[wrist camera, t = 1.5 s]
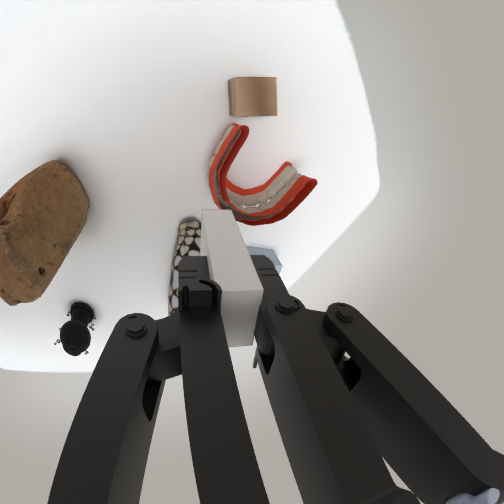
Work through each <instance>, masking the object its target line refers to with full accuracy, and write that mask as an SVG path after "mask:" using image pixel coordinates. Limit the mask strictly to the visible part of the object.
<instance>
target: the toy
mask: <svg viewBox="0 0 504 504" xmlns="http://www.w3.org/2000/svg"><path fill="white" fill-rule="evenodd" d="M248 133H249V128H248V127H247V126H245V125H242V126H239V125H238V124H232V125H230V126H229V127H228V129H227V130H226V132H225V134H224V135H223V138H222V140H221V141H220V142H219V144H218V146H217V148H216V150H215V152H214V155H213V157H212V158H211V160H210V163H209V168H210V169H209V171H208V179H209V186H210V189H211V193H212V196H213V199H214V202H215V204H216V205H217V206H218V207H219V208H220V209H221V210H231V211H232V213H233V216H234V218H235V220H236V221H239V222H241V223H244V224H247V225H252V226H255V225H263V224H271V223H274V222H277V221H279V220H282V219H284V218H285V217H287V216H288V215H289V214H290V213H291V212H292V211H293V210H294V209H295V208H296V207H297V206H298V205H299V204H300V203H301V202H302V201H303V200H304V199H305V198H306V197H307V196H308V195H309V193H310V192H311V191H312V190H313V189H314V188H315V186H316V185H317V180H316V179H312V178H309V177H306V176H304V175H301V174H297V170H296V169H294V168H293V167H292V165H291V164H290V163H289V162H285V163H284V164H283V165H282V166H281V167H280V169H279V170H278V171H277V172H276V173H275V174H274V175H273V176H272V177H271V178H270V179H269V180H268V181H267V182H266V183H265V184H264V185H261V186H259V187H255V188H252V189H245V190H244V189H242V188H240V187H237V186H235V185H233V184H232V183H231V182H230V181H229V180H228V179H226V175H227V172H228V170H229V168H230V166H231V164H232V162H233V160H234V158H235V157H236V155H237V153H238V152H239V150H240V148H241V147H242V145H243V144H244V142H245V140H246V139H247V137H248ZM287 183H288V185H287ZM277 192H278V194H277ZM276 195H277V196H276ZM268 199H271V200H270V201H269V203H265V202H267V201H268ZM230 200H231V201H232V202H233V203H236V204H238V205H236V204H233V203H231V202H230ZM257 203H258V204H260V205H259V206H258V207H255V206H254V207H247V208H245V209H244V208H243V207H241V206H239V205H245V206H252V205H256V204H257ZM262 203H263V204H262Z"/></svg>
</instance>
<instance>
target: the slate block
mask: <svg viewBox="0 0 504 504" xmlns="http://www.w3.org/2000/svg"><path fill="white" fill-rule="evenodd" d="M246 248H247V250H248V253H249V255H265V256H266V257H268V258H269V259H270V260H271V261H272V262H273V264H274V266H275V268H276V270H277V272H278V274H279V273H280V271H281V268H282V264H281V263H280V261H279V259H278V258H277V256H276V254H275V253H274V251H273V250H270V249H263V248H255V247H247V246H246Z"/></svg>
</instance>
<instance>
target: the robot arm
mask: <svg viewBox="0 0 504 504" xmlns="http://www.w3.org/2000/svg"><path fill="white" fill-rule="evenodd" d="M178 284H179V288H178V307H177V309H176V311H175V312H174V313H173V314H171V315H170V316H168V317H165V318H163V319H159V320H154V319H153V318H151V317H150V316H148V315H145V314H143V313H133V314H129V315H126V316H124V317H123V318H121V319H120V320H119V321H118V322H117V324H116V325H115V327H114V329H113V331H112V333H111V335H110V337H109V339H108V341H107V343H106V345H105V348H104V350H103V352H102V354H101V356H100V358H99V360H98V362H97V365H96V367H95V369H94V371H93V373H92V376H91V378H90V380H89V383H88V385H87V387H86V390H85V392H84V394H83V397H82V399H81V402H80V404H79V407H78V409H77V412H76V414H75V417H74V419H73V422H72V425H71V428H70V430H69V433H68V436H67V439H66V442H65V445H64V448H63V451H62V454H61V457H60V460H59V463H58V467H57V470H56V473H55V477H54V480H53V484H52V487H51V491H50V496H49V500H48V504H139V500H140V494H141V489H142V483H143V478H144V473H145V468H146V463H147V458H148V453H149V449H150V444H151V439H152V435H153V430H154V426H155V422H156V417H157V413H158V409H159V405H160V401H161V397H162V393H163V389H164V385H165V381H166V379H169V378H172V377H175V376H178V375H181V374H182V377H183V389H184V399H185V409H186V418H187V425H188V433H189V441H190V448H191V454H192V460H193V467H194V473H195V478H196V484H197V489H198V494H199V499H200V504H270V503H269V500H268V497H267V494H266V490H265V487H264V484H263V480H262V477H261V474H260V470H259V467H258V463H257V460H256V456H255V453H254V449H253V445H252V442H251V439H250V434H249V431H248V427H247V423H246V419H245V415H244V411H243V407H242V404H241V399H240V395H239V391H238V387H237V383H236V379H235V374H234V370H233V365H232V361H231V357H230V352H229V348H228V347H237V346H249V345H253V340H254V336H255V339H256V342H257V349H256V353H255V357H254V362H253V368H256V366H257V362H258V365H259V368H260V371H261V375H262V378H263V381H264V384H265V388H266V391H267V394H268V397H269V400H270V404H271V407H272V410H273V413H274V416H275V420H276V422H277V426H278V429H279V432H280V435H281V438H282V441H283V444H284V447H285V450H286V453H287V456H288V459H289V462H290V465H291V468H292V471H293V474H294V477H295V480H296V483H297V486H298V489H299V491H300V494H301V497H302V500H303V503H304V504H420V502H419V500H421V501H422V502H423V503H424V504H503V503H504V455H503V454H501V453H498V452H496V451H494V450H492V448H491V447H490V446H489V445H488V444H487V443H486V442H485V441H484V439H482V437H481V436H480V435H479V434H478V433H477V432H476V430H475V429H474V428H473V427H472V426H471V425H470V424H469V423H468V422H467V421H466V420H465V418H464V417H462V415H461V414H460V413H459V412H458V411H457V410H456V409H455V408H454V407H453V406H452V405H451V404H450V402H449V401H447V399H446V398H445V397H444V396H443V395H442V394H441V393H440V392H439V391H438V390H437V389H436V388H435V387H434V386H433V385H432V384H431V383H430V382H429V381H428V380H427V379H426V378H425V377H424V376H423V374H422V373H421V372H420V371H419V370H418V369H417V368H416V367H415V366H414V365H413V364H412V363H411V362H410V361H409V360H408V359H407V358H406V357H404V355H403V354H402V353H401V352H400V351H399V350H398V349H397V348H396V347H395V346H394V345H393V344H392V343H391V342H390V341H389V340H388V339H387V338H386V337H385V336H384V335H383V334H382V333H380V332H379V331H378V330H377V329H376V328H375V327H374V326H373V325H372V324H371V323H370V322H369V321H368V320H367V319H366V318H365V317H364V316H363V315H362V314H361V313H360V312H359V311H358V310H357V309H355V308H354V307H352V306H351V305H348V304H346V303H333V304H331V305H329V307H328V309H327V311H326V312H321V311H315V310H309V309H306V308H305V306H304V305H303V304H302V302H301V301H300V300H299V299H297V298H295V297H293V296H290V295H289V293H288V291H287V289H286V287H285V285H284V283H283V281H282V280H281V278H280V276H279V274H278V272H277V270H276V268H275V266H274V264H273V262H272V261H271V260H270V259H269V258H268V257H266V256H265V255H249V253H248V250H247V248H246V245H245V243H244V240H243V238H242V235H241V233H240V230H239V228H238V225H237V223H236V221H235V218H234V216H233V213H232V211H231V210H213V209H202V224H201V245H200V256H183V257H182V259H181V260H180V261H179V263H178ZM345 352H347V353H348V355H349V356H350V359H349V358H347V357H345V356H344V354H345ZM382 457H383V458H384V459H385V461H386V462H387V463H388V464H389V465H390V467H391V468H392V469H393V470H394V471H395V472H396V474H397V475H398V476H399V477H400V478H401V480H402V481H403V482H404V483H405V484H406V485H407V486H408V488H409V489H410V490H411V491H412V492H413V493H414V494H413V493H412V492H410V491H408V490H405V489H402V488H399V487H397V486H396V484H395V483H394V481H393V479H392V477H391V475H390V473H389V471H388V469H387V467H386V465H385V463H384V460H383V458H382ZM417 498H419V500H418V499H417Z"/></svg>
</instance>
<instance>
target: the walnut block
mask: <svg viewBox="0 0 504 504" xmlns="http://www.w3.org/2000/svg"><path fill="white" fill-rule="evenodd" d="M228 91H229V113H230V115H231V116H235V117H246V116H277V92H276V77H235V78H233V79H231V80H228Z"/></svg>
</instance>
